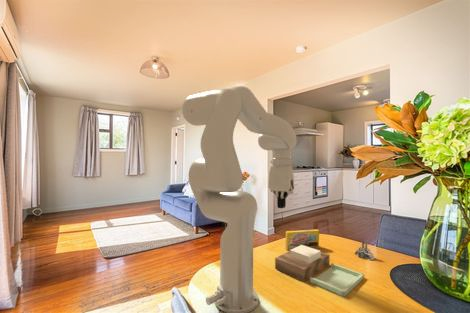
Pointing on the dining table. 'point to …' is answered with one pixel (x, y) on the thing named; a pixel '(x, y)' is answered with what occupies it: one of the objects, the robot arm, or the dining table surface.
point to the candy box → (302, 238)
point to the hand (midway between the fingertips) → (281, 207)
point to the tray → (338, 280)
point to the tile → (305, 254)
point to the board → (301, 266)
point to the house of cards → (365, 252)
